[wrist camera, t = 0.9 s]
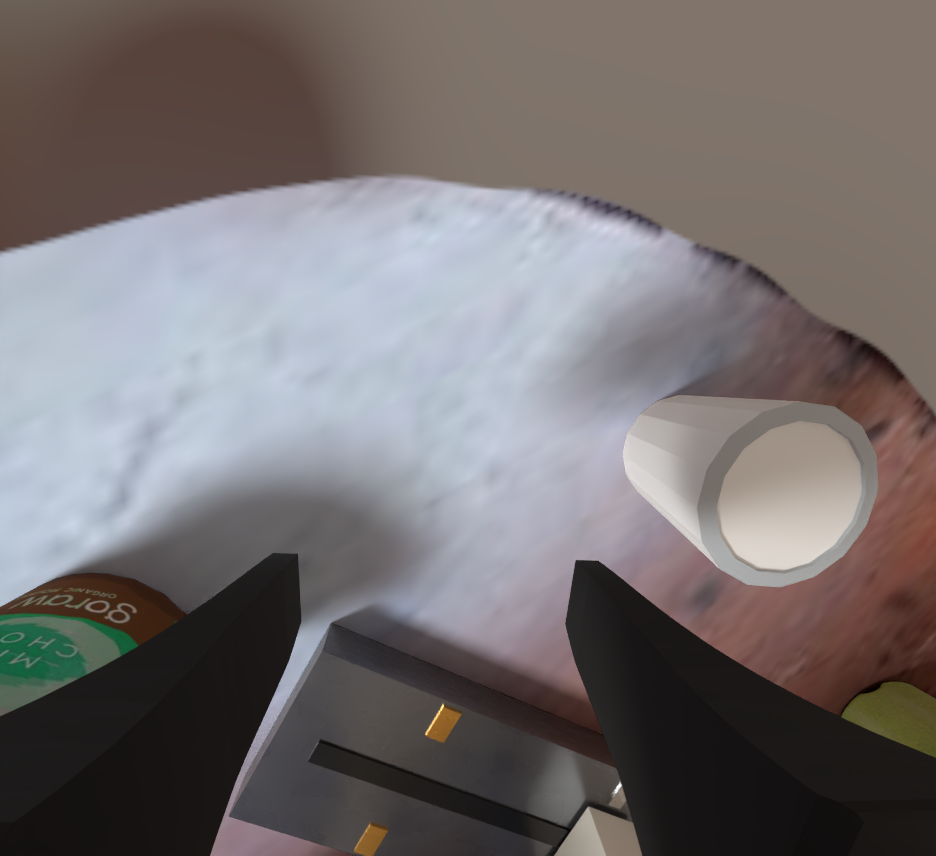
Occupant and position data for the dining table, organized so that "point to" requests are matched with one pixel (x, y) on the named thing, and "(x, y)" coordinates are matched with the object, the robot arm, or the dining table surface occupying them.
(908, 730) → the plant pot
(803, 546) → the white cylinder
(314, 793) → the fader console
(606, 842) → the fader knob
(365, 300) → the dining table surface
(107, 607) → the food container
